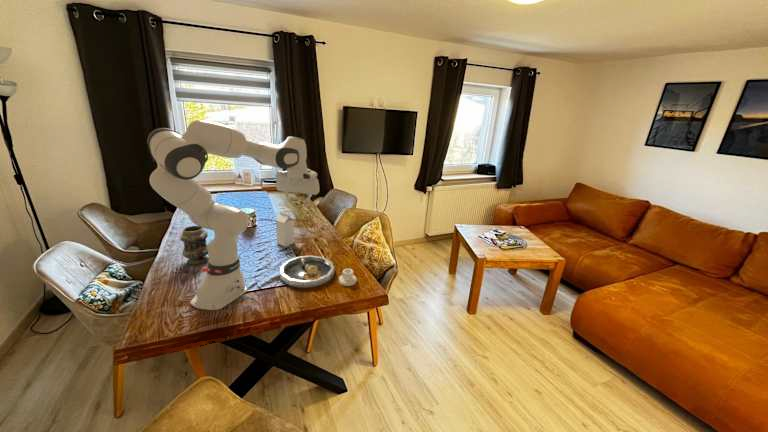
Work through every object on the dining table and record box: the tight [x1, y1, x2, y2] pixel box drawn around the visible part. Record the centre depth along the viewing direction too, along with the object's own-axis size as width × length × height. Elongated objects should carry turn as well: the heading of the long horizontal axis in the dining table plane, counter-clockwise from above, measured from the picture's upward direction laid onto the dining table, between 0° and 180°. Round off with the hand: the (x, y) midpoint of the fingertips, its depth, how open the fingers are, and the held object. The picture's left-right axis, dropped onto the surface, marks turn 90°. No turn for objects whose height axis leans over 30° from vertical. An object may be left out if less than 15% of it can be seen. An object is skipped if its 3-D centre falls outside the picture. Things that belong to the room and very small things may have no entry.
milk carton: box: [275, 212, 295, 248], centre depth 178 cm, size 7×7×19 cm
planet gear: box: [338, 268, 357, 287], centre depth 146 cm, size 8×8×6 cm
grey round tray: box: [279, 255, 335, 289], centre depth 150 cm, size 26×26×7 cm
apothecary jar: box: [179, 225, 209, 267], centre depth 152 cm, size 12×12×18 cm
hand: (298, 201), depth 144 cm, fingers open, 8 cm apart
